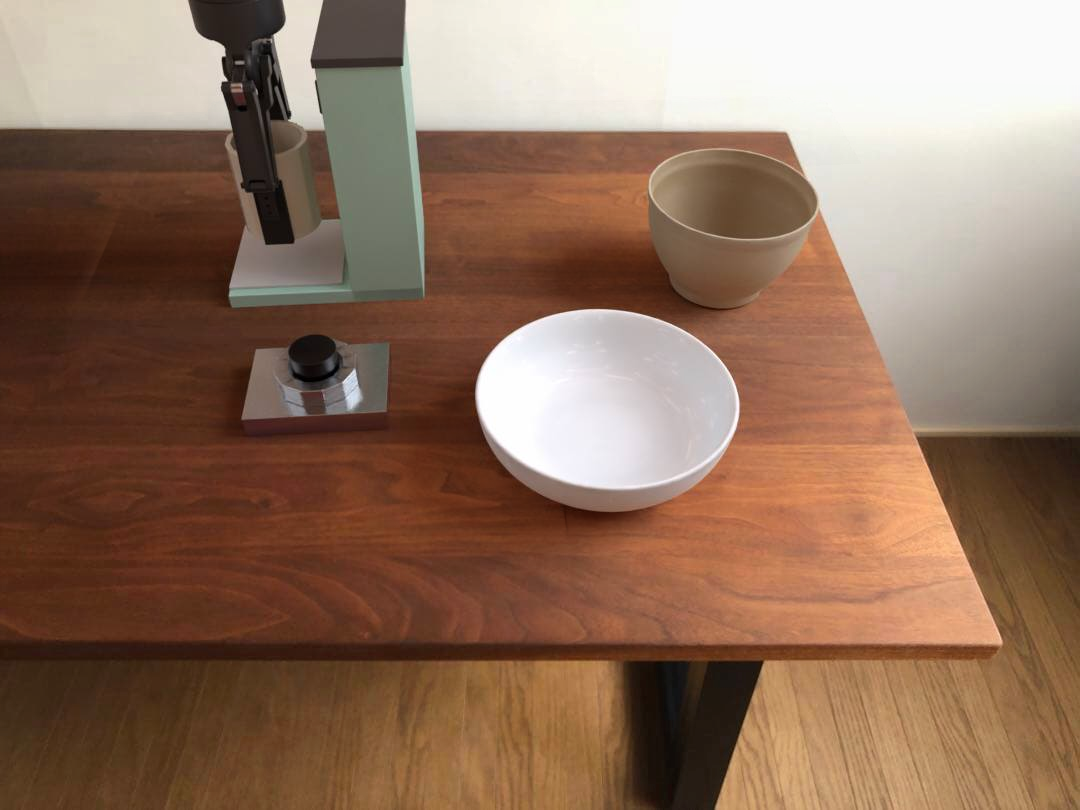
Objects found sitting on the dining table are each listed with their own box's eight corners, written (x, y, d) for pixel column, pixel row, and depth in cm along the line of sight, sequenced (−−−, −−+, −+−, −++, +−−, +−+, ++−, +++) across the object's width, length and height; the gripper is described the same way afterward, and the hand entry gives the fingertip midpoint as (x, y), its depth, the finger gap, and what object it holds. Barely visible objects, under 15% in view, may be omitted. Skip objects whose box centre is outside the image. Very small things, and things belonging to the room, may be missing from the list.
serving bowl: (752, 540, 69) (769, 482, 64) (481, 553, 68) (477, 495, 63) (699, 360, 84) (710, 302, 79) (476, 369, 82) (473, 310, 78)
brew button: (289, 384, 75) (285, 366, 74) (294, 353, 78) (290, 335, 77) (337, 381, 76) (334, 363, 74) (341, 350, 79) (337, 332, 77)
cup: (241, 243, 87) (219, 159, 80) (252, 202, 92) (232, 120, 86) (318, 240, 87) (302, 157, 81) (325, 200, 92) (310, 118, 86)
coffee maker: (231, 309, 88) (159, 63, 71) (250, 233, 98) (190, -1, 80) (426, 300, 90) (402, 56, 72) (426, 226, 99) (405, -5, 82)
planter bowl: (647, 333, 86) (659, 238, 79) (630, 238, 98) (639, 147, 90) (811, 332, 87) (839, 238, 79) (776, 238, 98) (797, 147, 91)
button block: (246, 437, 76) (236, 404, 73) (260, 366, 82) (251, 333, 80) (389, 429, 77) (383, 396, 74) (391, 360, 83) (387, 326, 80)
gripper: (261, 27, 66) (313, 278, 82) (291, -62, 81) (330, 166, 97) (158, 30, 66) (230, 282, 82) (206, -60, 80) (260, 168, 96)
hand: (284, 218), depth 89 cm, fingers closed on cup, 7 cm apart
